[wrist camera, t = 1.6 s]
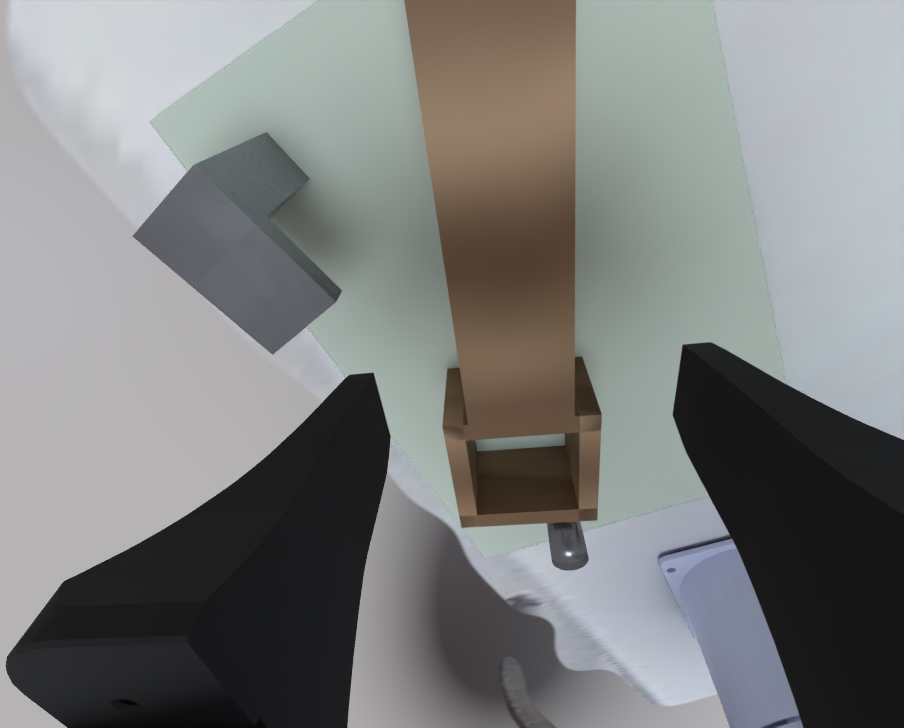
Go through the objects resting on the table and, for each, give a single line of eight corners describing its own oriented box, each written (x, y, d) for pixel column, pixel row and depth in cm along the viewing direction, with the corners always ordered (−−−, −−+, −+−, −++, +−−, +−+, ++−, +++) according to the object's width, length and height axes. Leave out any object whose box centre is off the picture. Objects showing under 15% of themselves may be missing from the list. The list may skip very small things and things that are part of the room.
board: (797, 462, 25) (802, 469, 25) (485, 551, 30) (485, 559, 30) (658, -238, 12) (664, -247, 12) (157, 120, 17) (148, 121, 17)
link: (580, 455, 25) (597, 520, 22) (463, 463, 25) (461, 527, 22) (587, -56, 14) (622, -85, 11) (382, -20, 15) (355, -36, 11)
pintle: (575, 486, 26) (593, 565, 22) (547, 494, 27) (559, 573, 23) (564, 466, 25) (581, 544, 21) (535, 475, 26) (546, 554, 22)
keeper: (368, 240, 19) (336, 301, 15) (317, 285, 20) (272, 354, 16) (266, 131, 17) (193, 164, 13) (215, 188, 18) (132, 236, 14)
